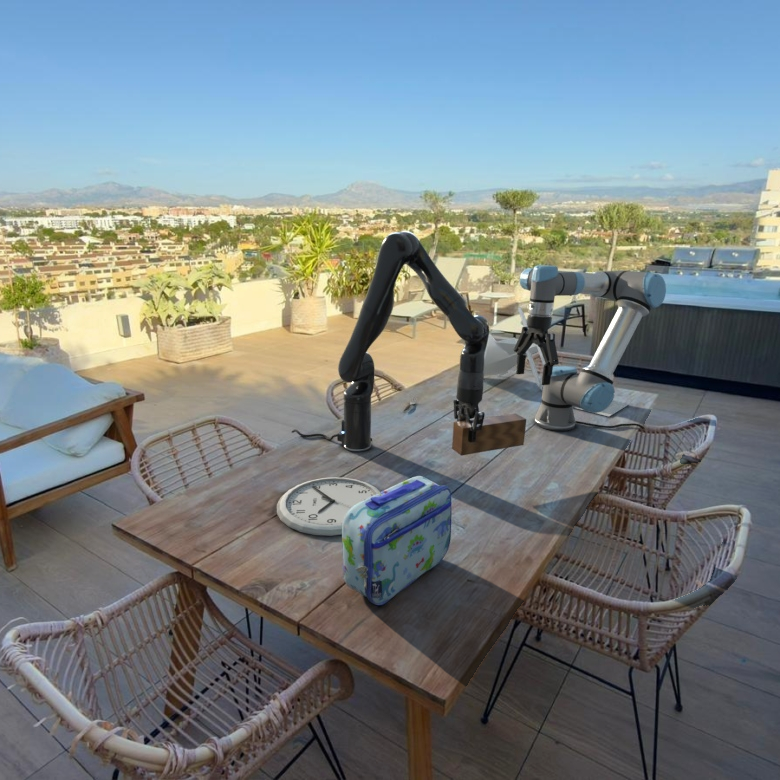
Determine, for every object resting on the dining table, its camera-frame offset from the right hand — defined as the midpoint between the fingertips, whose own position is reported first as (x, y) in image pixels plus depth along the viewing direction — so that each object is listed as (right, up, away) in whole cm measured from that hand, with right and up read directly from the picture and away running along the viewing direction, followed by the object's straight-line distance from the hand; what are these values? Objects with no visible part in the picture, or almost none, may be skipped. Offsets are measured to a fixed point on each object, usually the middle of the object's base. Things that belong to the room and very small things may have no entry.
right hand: (532, 379), depth 173 cm
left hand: (-24, -18, -15) cm, 33 cm away
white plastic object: (+10, -1, +84) cm, 85 cm away
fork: (-39, -11, +49) cm, 63 cm away
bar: (-17, -21, -10) cm, 29 cm away
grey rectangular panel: (+44, -11, +53) cm, 70 cm away
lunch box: (-45, -44, -59) cm, 87 cm away
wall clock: (-63, -35, -30) cm, 78 cm away
